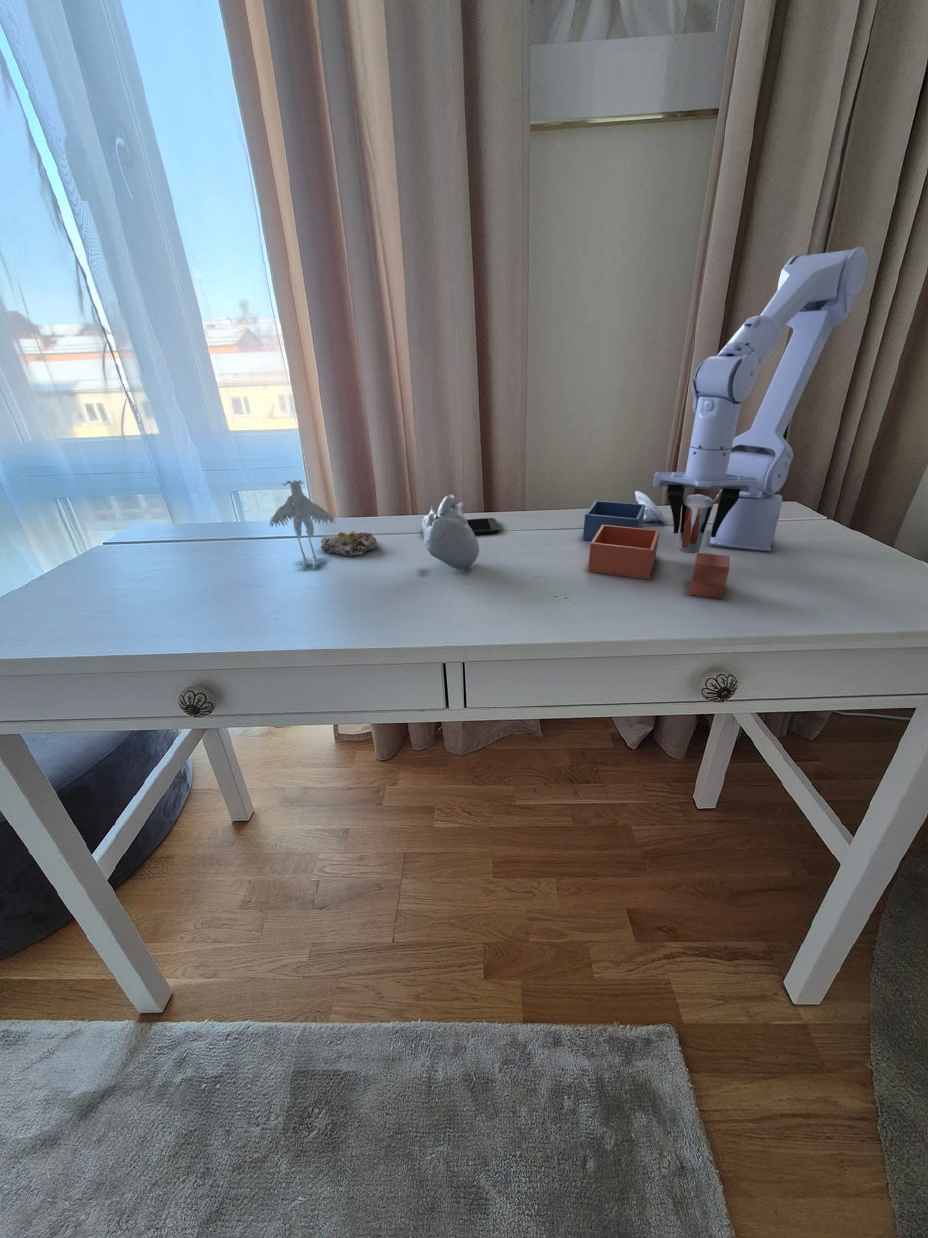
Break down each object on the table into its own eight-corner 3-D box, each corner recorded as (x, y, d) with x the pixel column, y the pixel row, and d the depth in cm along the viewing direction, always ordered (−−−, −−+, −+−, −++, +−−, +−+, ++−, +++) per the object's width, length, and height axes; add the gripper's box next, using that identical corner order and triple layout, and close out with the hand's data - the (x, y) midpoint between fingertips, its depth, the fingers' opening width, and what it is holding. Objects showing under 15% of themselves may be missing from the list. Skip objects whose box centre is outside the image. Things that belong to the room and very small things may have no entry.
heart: (408, 571, 84) (414, 502, 78) (429, 550, 92) (436, 486, 86) (465, 586, 82) (476, 518, 76) (482, 564, 90) (492, 499, 84)
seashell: (636, 537, 105) (620, 502, 106) (660, 526, 105) (644, 492, 106) (643, 528, 98) (626, 491, 98) (670, 517, 97) (652, 480, 98)
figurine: (344, 558, 92) (330, 475, 84) (341, 567, 88) (326, 481, 81) (281, 562, 91) (261, 479, 84) (275, 571, 87) (255, 485, 80)
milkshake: (711, 556, 81) (725, 494, 76) (676, 554, 82) (687, 493, 77) (705, 545, 85) (718, 486, 80) (672, 544, 86) (682, 485, 81)
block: (722, 586, 76) (729, 555, 73) (721, 599, 72) (729, 567, 70) (690, 582, 77) (696, 552, 75) (688, 594, 74) (695, 563, 71)
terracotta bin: (655, 557, 86) (659, 530, 84) (648, 579, 79) (653, 550, 77) (599, 550, 90) (602, 524, 88) (587, 571, 83) (590, 543, 80)
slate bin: (642, 528, 99) (645, 504, 96) (635, 545, 91) (638, 519, 89) (593, 523, 102) (595, 500, 100) (582, 539, 95) (584, 514, 93)
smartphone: (500, 532, 100) (500, 528, 99) (425, 538, 99) (424, 533, 98) (495, 521, 106) (495, 517, 106) (424, 526, 105) (423, 521, 105)
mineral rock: (380, 527, 98) (371, 530, 91) (382, 550, 99) (373, 554, 92) (326, 531, 99) (312, 534, 91) (329, 553, 100) (316, 558, 92)
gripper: (656, 449, 75) (644, 536, 81) (767, 454, 69) (744, 546, 76) (661, 440, 80) (649, 522, 87) (764, 444, 75) (743, 531, 81)
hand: (694, 533), depth 82 cm, fingers closed on milkshake, 5 cm apart
